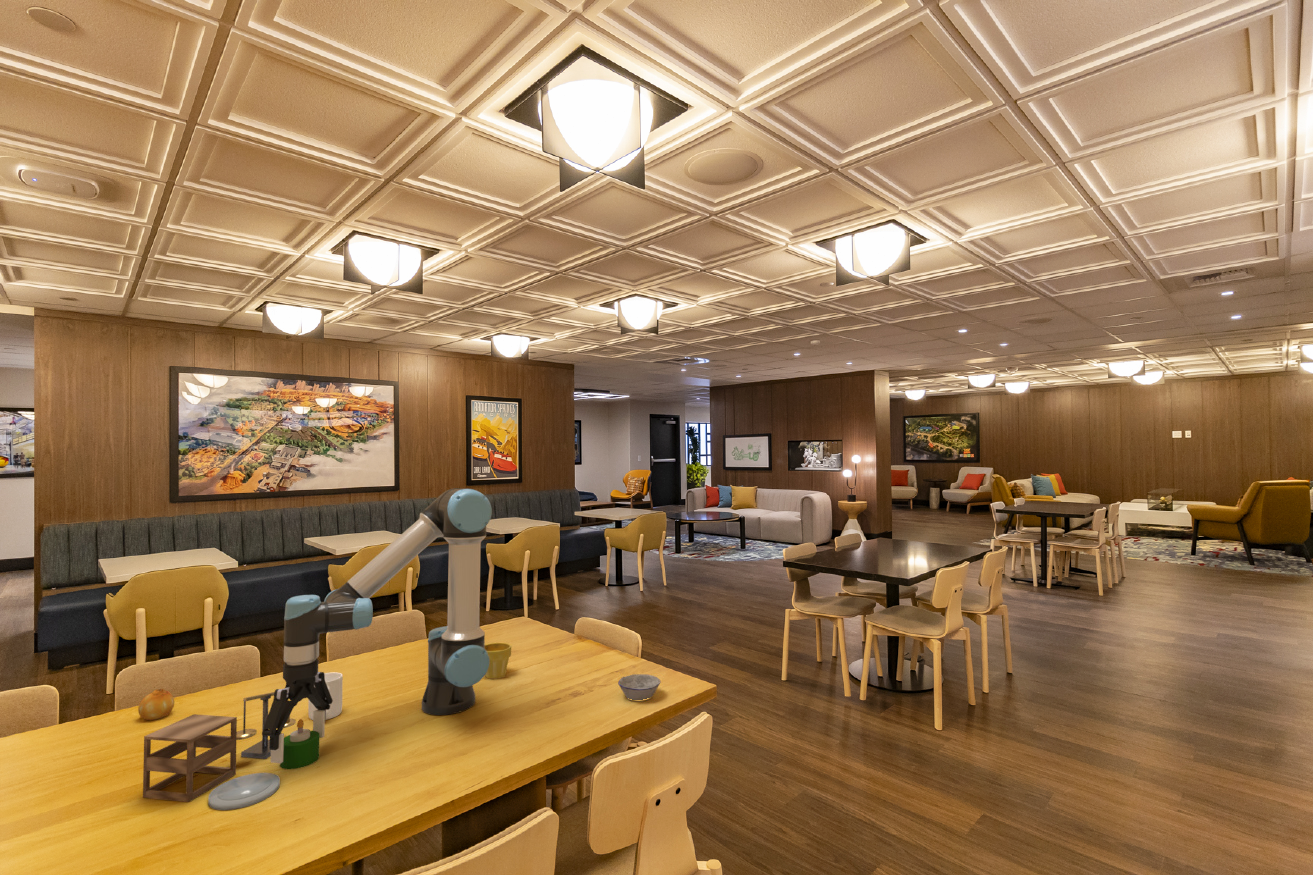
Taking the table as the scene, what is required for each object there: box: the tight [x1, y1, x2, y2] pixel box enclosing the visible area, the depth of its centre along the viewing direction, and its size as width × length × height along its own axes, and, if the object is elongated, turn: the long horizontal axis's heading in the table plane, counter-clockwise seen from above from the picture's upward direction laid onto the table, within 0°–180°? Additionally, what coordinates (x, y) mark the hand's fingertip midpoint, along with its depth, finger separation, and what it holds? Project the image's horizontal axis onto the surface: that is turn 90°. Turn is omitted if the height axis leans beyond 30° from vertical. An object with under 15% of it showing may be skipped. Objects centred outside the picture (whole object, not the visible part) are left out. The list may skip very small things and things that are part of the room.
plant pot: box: [484, 641, 512, 680], centre depth 207 cm, size 10×10×10 cm
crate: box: [142, 713, 238, 803], centre depth 138 cm, size 12×12×13 cm
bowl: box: [617, 673, 661, 701], centre depth 187 cm, size 13×13×5 cm
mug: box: [307, 671, 343, 721], centre depth 174 cm, size 9×12×11 cm
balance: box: [236, 691, 297, 760], centre depth 154 cm, size 7×18×16 cm, turn 170°
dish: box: [207, 772, 281, 811], centre depth 134 cm, size 13×13×1 cm
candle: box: [279, 718, 320, 770], centre depth 149 cm, size 8×8×10 cm
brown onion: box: [137, 688, 175, 721], centre depth 176 cm, size 8×8×8 cm
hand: (298, 749), depth 148 cm, fingers open, 13 cm apart
